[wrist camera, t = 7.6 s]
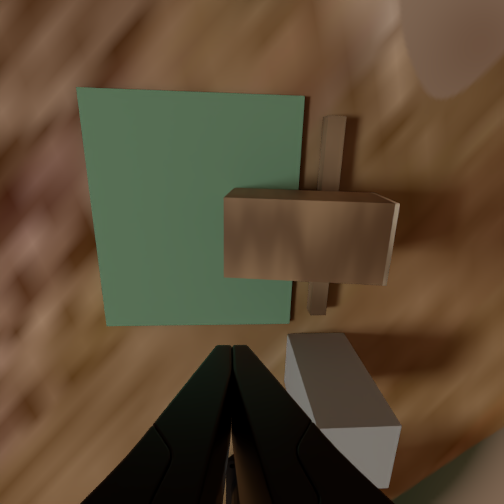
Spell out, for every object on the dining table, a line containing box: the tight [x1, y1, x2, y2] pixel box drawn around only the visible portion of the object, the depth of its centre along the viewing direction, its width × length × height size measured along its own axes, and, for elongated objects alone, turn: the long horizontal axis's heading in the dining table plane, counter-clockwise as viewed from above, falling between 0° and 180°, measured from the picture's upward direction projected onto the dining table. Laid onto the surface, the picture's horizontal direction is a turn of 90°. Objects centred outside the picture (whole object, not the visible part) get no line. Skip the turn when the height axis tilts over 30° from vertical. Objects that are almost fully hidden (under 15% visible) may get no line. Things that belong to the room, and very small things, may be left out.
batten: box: [307, 115, 347, 315], centre depth 20 cm, size 12×1×1 cm, turn 179°
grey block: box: [284, 333, 401, 488], centre depth 19 cm, size 4×4×8 cm
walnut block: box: [224, 188, 400, 286], centre depth 17 cm, size 4×4×8 cm
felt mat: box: [76, 87, 305, 326], centre depth 19 cm, size 14×12×1 cm
